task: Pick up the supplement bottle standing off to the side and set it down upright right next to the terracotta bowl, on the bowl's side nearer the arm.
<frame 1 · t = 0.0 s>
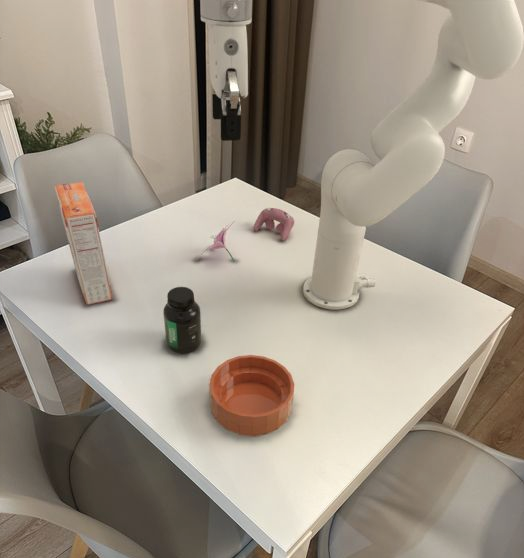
hand: (226, 128, 87), 37 cm above the table, tool pointing down, fingers open, 9 cm apart
supplement bottle: (184, 344, 102), on the table
lily: (218, 257, 125), on the table
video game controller: (273, 232, 135), on the table
cracker box: (93, 286, 114), on the table
bowl: (250, 405, 90), on the table
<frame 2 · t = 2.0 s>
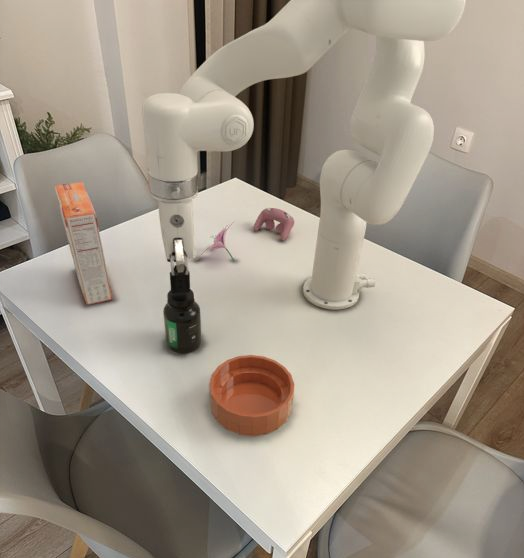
hand: (178, 276, 91), 16 cm above the table, tool pointing down, fingers open, 9 cm apart
nothing on the table moved.
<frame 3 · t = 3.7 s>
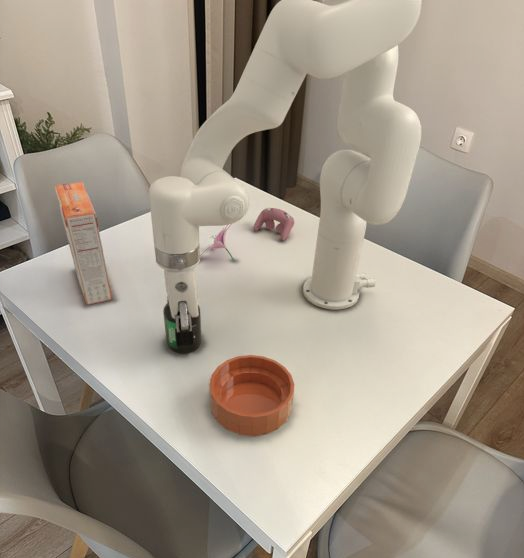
hand: (183, 331, 99), 3 cm above the table, tool pointing down, fingers closed on supplement bottle, 6 cm apart
supplement bottle: (184, 344, 102), on the table, touching gripper
everything else where it was.
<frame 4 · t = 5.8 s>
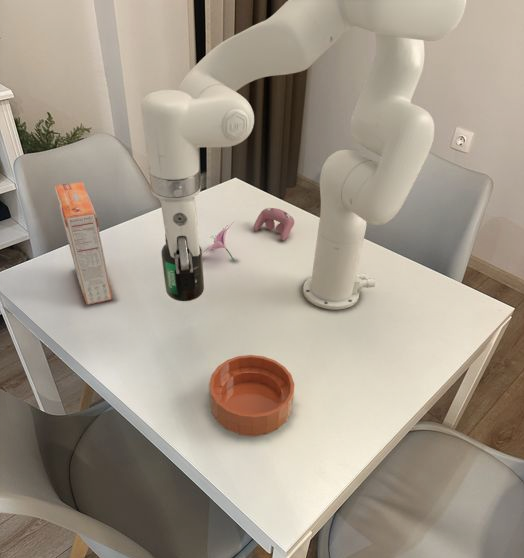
hand: (184, 276, 91), 16 cm above the table, tool pointing down, fingers closed on supplement bottle, 6 cm apart
supplement bottle: (185, 291, 93), point 12 cm above the table, touching gripper
everything else where it was.
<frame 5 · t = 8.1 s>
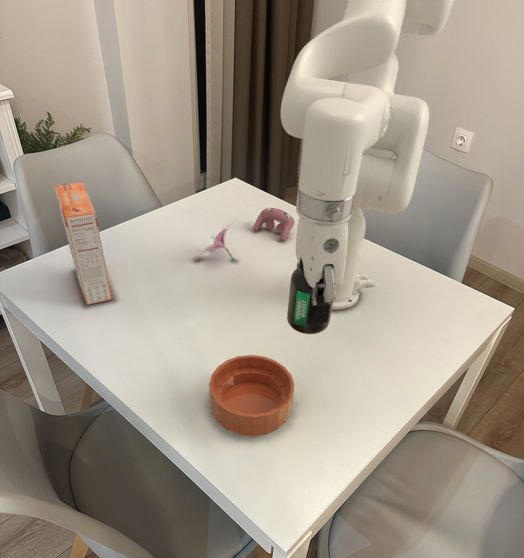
hand: (310, 306, 81), 19 cm above the table, tool pointing down, fingers closed on supplement bottle, 6 cm apart
supplement bottle: (307, 322, 83), point 16 cm above the table, touching gripper
everything else where it was.
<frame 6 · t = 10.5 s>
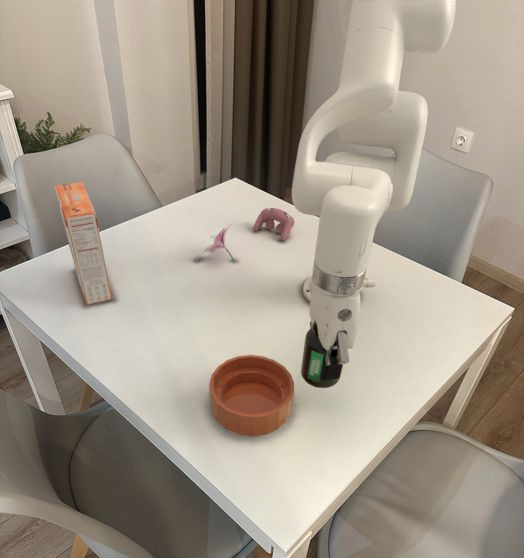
hand: (322, 361, 86), 9 cm above the table, tool pointing down, fingers closed on supplement bottle, 6 cm apart
supplement bottle: (320, 375, 89), point 6 cm above the table, touching gripper
everything else where it was.
when the fingers open (3 cm above the table, at t = 12.5 s): supplement bottle stays where it is, on the table.
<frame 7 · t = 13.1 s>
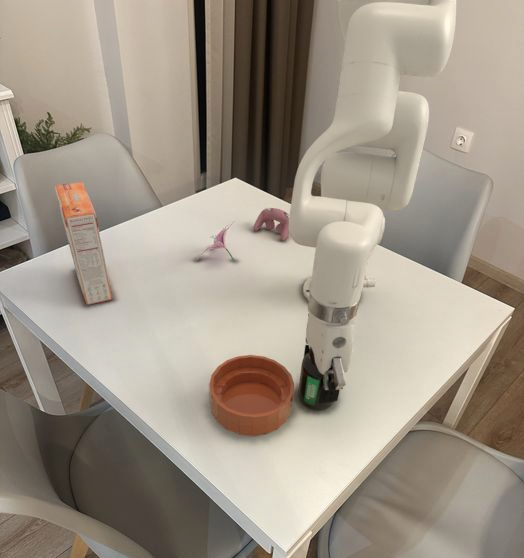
hand: (319, 380, 90), 4 cm above the table, tool pointing down, fingers open, 9 cm apart
supplement bottle: (316, 398, 93), on the table
everything else where it was.
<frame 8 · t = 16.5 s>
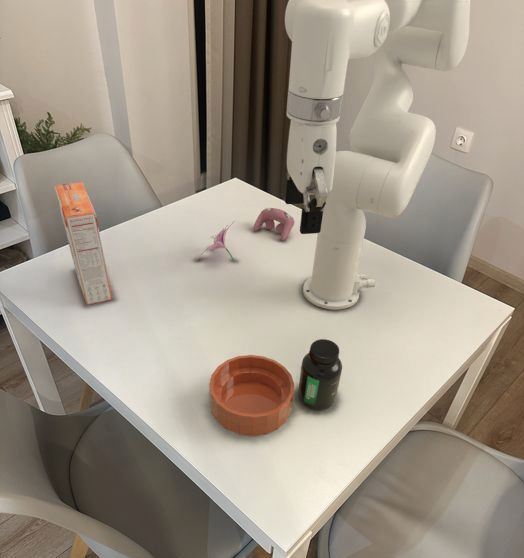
hand: (301, 217, 83), 28 cm above the table, tool pointing down, fingers open, 9 cm apart
nothing on the table moved.
at the end: supplement bottle inside the target area on the table beside the bowl (0.6 cm from its centre), on the table; supplement bottle 11.9 cm from the bowl (horizontally); supplement bottle tilted 0° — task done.
